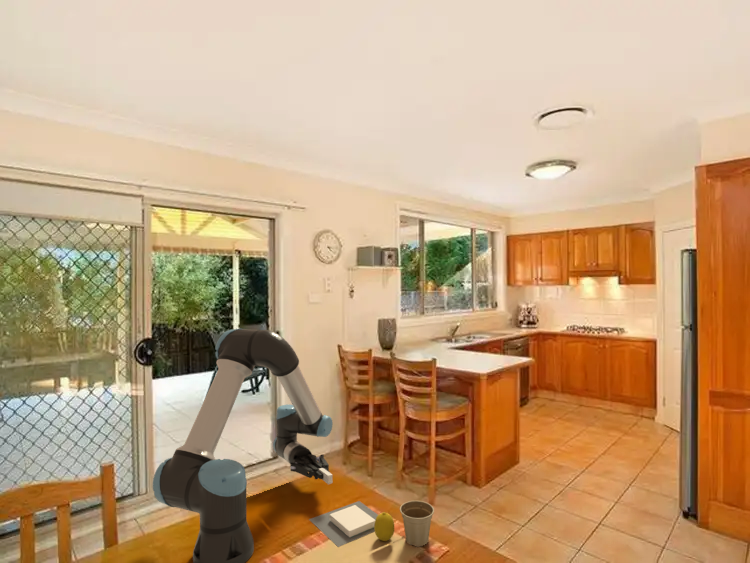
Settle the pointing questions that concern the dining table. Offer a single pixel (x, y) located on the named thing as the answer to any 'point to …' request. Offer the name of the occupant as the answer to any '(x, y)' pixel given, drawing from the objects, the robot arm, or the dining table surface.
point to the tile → (352, 521)
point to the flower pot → (417, 521)
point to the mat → (334, 532)
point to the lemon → (384, 526)
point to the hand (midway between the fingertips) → (330, 479)
